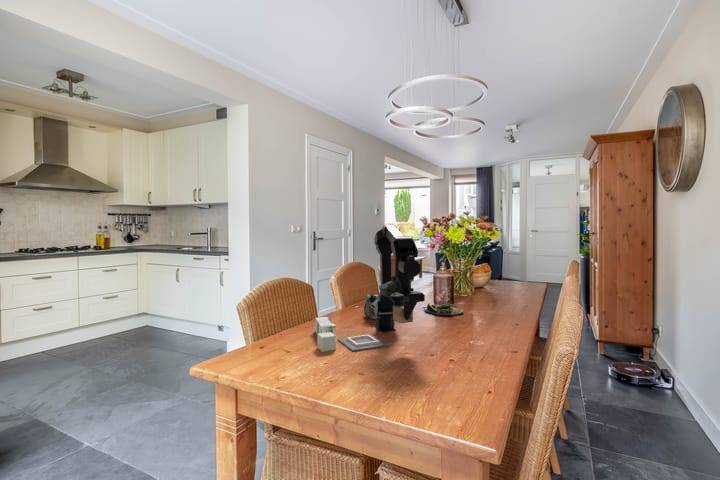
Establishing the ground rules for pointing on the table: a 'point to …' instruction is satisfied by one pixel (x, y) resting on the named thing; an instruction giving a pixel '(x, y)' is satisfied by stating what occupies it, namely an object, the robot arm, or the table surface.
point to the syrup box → (324, 325)
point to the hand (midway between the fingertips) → (402, 317)
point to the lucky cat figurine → (370, 306)
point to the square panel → (362, 342)
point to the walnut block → (401, 314)
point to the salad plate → (442, 310)
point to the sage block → (326, 341)
